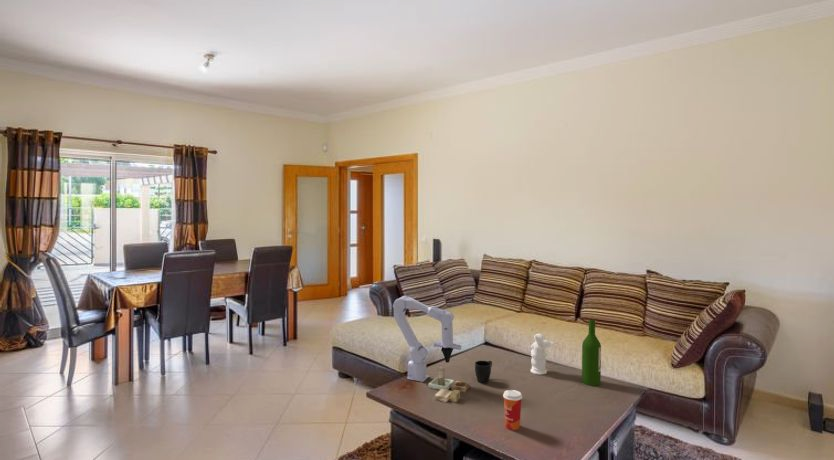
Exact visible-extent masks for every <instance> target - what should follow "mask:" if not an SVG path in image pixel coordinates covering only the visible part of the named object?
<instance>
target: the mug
mask: <svg viewBox="0 0 834 460" xmlns="http://www.w3.org/2000/svg"><path fill="white" fill-rule="evenodd" d="M492 366H493V361H492V360H488V361H487V360H477V361H475V363H474V372H475V377H476V380H477V383H479V384H488V383H489V381H490V377H491V374H492V373H491V372H492Z"/></svg>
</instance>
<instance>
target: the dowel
mask: <svg viewBox="0 0 834 460" xmlns="http://www.w3.org/2000/svg"><path fill="white" fill-rule="evenodd" d="M436 371H437V377H438V385H442V386H444V385H445V379H446V378H445V377H446V375H445V373H446V372H445V368H444V367H437V370H436Z"/></svg>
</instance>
